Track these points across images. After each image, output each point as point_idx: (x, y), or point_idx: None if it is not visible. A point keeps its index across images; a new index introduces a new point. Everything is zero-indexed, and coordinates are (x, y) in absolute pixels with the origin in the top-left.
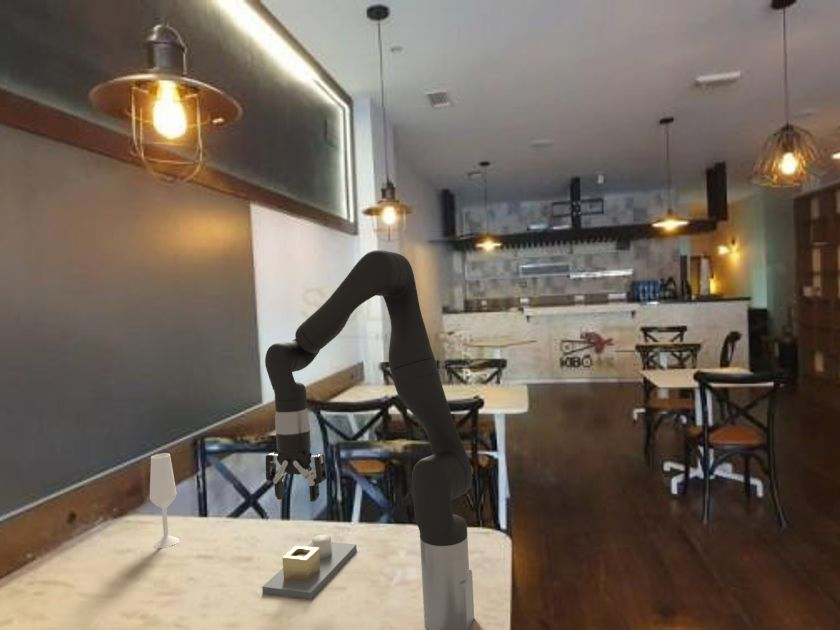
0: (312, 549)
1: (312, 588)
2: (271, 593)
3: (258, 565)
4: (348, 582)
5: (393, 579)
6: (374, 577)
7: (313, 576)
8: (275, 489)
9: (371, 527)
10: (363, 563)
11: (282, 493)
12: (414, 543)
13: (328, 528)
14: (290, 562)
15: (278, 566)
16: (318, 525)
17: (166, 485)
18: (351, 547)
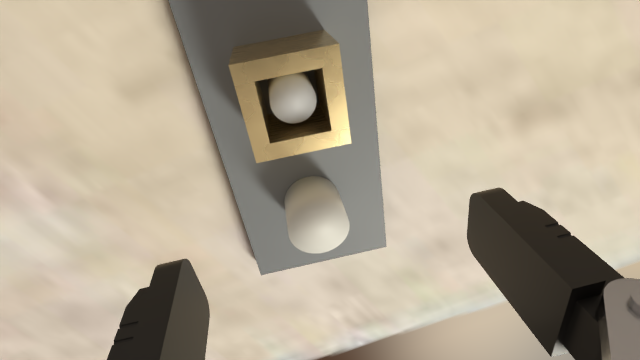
0: (271, 145)
1: (181, 15)
2: None
3: (474, 96)
4: (145, 126)
5: (38, 192)
6: (98, 179)
7: None
8: (570, 241)
9: (304, 347)
10: (191, 223)
11: (488, 249)
12: None
13: (401, 307)
14: (301, 47)
15: (412, 116)
16: (433, 308)
17: None
18: (261, 259)
